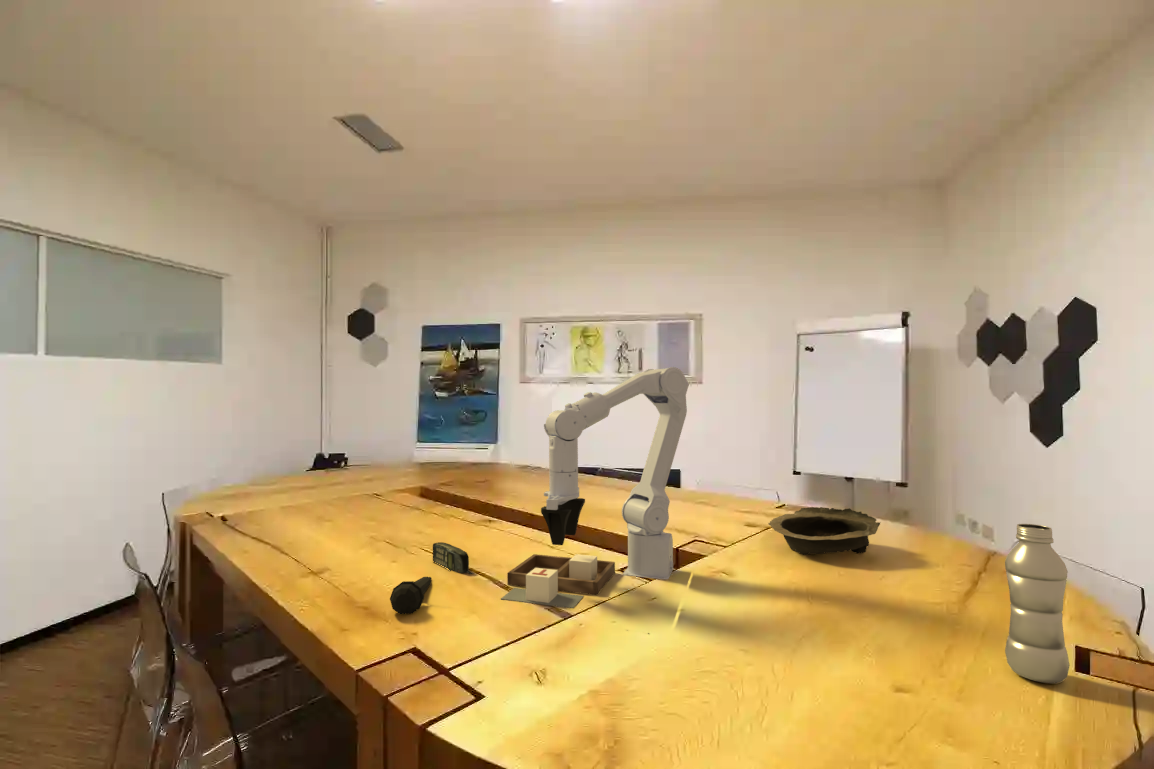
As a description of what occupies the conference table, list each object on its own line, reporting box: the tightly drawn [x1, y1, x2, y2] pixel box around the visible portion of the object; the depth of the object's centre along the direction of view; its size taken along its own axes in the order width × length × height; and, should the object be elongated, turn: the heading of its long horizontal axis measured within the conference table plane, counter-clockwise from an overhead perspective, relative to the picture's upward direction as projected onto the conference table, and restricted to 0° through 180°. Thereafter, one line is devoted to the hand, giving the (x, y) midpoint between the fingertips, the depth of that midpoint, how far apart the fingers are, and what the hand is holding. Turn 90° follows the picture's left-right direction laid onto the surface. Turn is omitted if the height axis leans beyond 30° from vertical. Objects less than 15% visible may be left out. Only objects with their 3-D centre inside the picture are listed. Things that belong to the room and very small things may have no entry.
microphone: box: [389, 576, 433, 615], centre depth 103 cm, size 6×6×20 cm
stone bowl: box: [767, 506, 881, 556], centre depth 134 cm, size 25×25×9 cm
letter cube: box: [525, 568, 559, 603], centre depth 101 cm, size 4×4×5 cm
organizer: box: [506, 553, 616, 596], centre depth 112 cm, size 18×14×3 cm
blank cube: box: [569, 553, 598, 581], centre depth 110 cm, size 4×4×4 cm
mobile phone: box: [432, 541, 474, 575], centre depth 120 cm, size 5×3×15 cm
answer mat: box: [500, 587, 585, 609], centre depth 101 cm, size 14×6×1 cm, turn 72°
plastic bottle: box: [1004, 523, 1071, 684], centre depth 73 cm, size 6×7×20 cm
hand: (564, 539), depth 109 cm, fingers open, 7 cm apart
